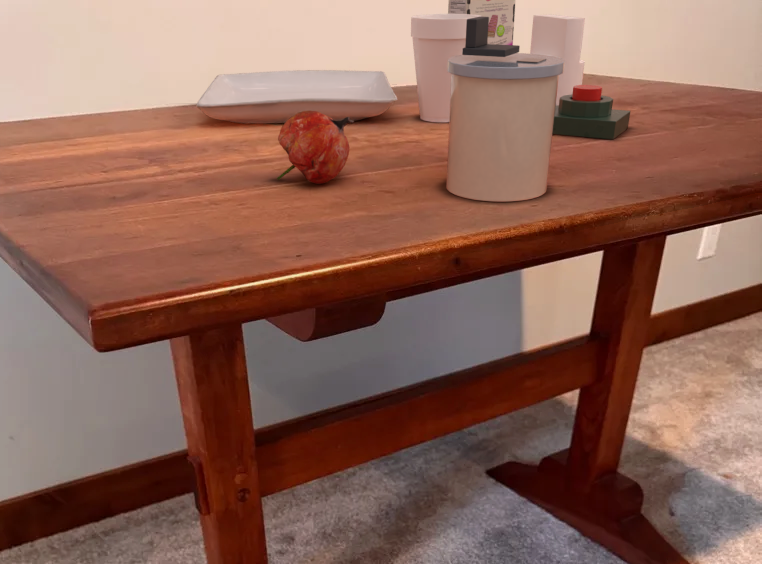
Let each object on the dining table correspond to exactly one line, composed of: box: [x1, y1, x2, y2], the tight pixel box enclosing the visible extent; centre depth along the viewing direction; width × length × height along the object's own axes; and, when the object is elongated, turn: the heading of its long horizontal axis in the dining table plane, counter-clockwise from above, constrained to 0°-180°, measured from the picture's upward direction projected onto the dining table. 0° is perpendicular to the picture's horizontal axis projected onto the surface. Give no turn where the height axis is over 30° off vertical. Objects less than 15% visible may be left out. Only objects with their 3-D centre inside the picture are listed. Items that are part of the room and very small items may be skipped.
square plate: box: [196, 69, 398, 124], centre depth 119 cm, size 27×27×4 cm
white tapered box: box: [529, 13, 586, 105], centre depth 119 cm, size 9×9×12 cm
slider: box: [462, 17, 520, 57], centre depth 74 cm, size 4×4×3 cm
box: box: [552, 94, 631, 141], centre depth 104 cm, size 10×8×4 cm
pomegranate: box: [276, 110, 355, 185], centre depth 82 cm, size 7×7×10 cm
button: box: [572, 84, 603, 101], centre depth 102 cm, size 4×4×2 cm
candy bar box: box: [447, 0, 516, 45], centre depth 131 cm, size 11×5×16 cm, turn 129°
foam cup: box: [410, 13, 481, 123], centre depth 110 cm, size 10×9×13 cm
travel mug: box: [445, 52, 565, 203], centre depth 78 cm, size 11×11×12 cm
